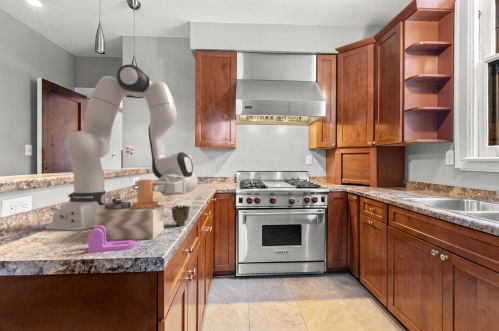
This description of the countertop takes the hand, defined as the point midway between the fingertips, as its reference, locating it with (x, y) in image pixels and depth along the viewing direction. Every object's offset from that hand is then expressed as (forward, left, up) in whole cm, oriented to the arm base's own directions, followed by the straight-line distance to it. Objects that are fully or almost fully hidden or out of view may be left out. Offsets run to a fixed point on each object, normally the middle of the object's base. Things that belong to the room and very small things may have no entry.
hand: (143, 187), depth 101 cm
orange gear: (0, +1, -7) cm, 7 cm away
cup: (+10, +15, -18) cm, 25 cm away
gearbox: (-5, +1, -17) cm, 18 cm away
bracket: (-4, -15, -18) cm, 24 cm away
